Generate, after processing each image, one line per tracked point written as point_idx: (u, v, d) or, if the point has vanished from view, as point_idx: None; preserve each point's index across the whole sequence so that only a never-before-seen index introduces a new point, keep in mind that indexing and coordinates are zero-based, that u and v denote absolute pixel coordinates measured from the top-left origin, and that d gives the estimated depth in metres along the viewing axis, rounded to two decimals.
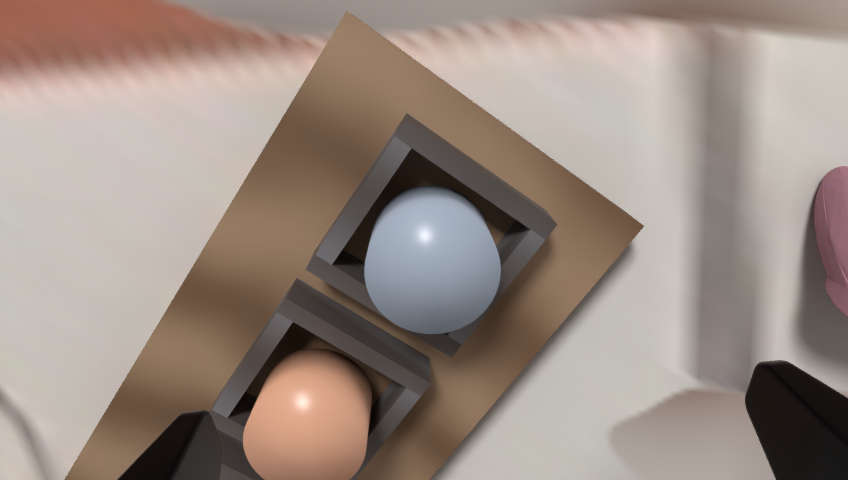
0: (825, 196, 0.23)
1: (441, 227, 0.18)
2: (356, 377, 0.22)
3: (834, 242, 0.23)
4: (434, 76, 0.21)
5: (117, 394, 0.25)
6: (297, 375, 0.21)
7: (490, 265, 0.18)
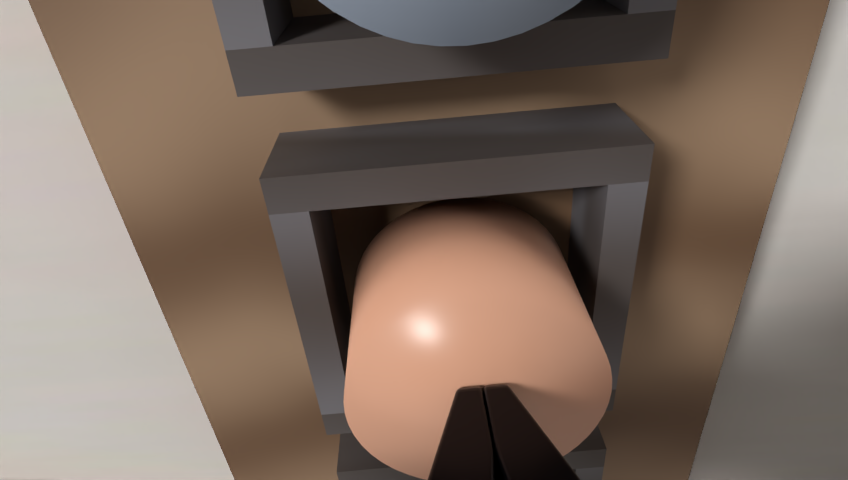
0: None
1: None
2: (494, 223, 0.10)
3: None
4: None
5: (222, 444, 0.16)
6: (376, 293, 0.09)
7: None
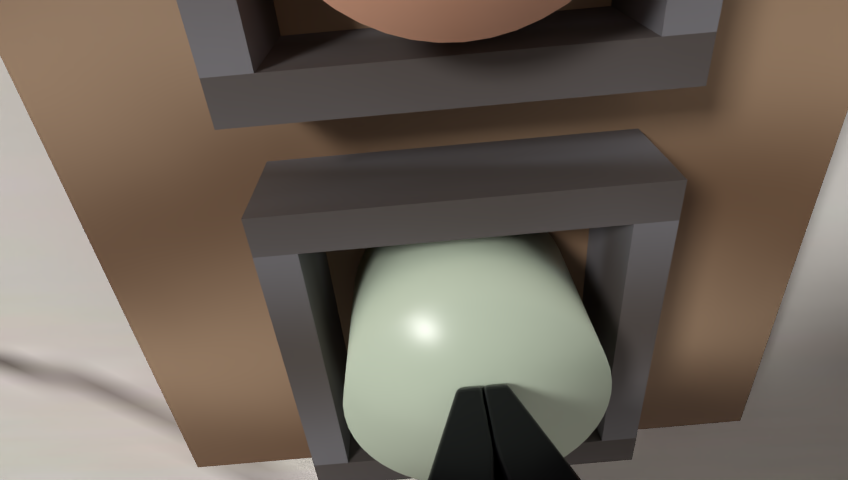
0: None
1: None
2: None
3: None
4: None
5: (89, 233, 0.11)
6: None
7: None
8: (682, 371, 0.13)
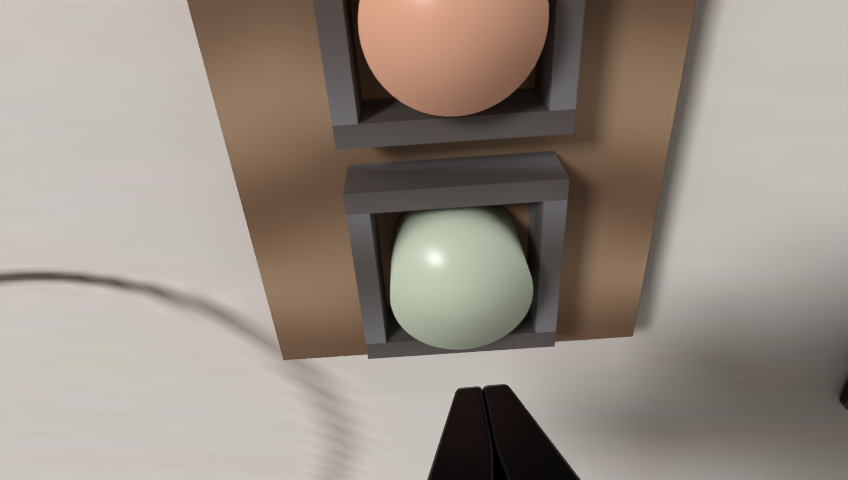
0: None
1: None
2: None
3: None
4: None
5: (243, 203, 0.19)
6: None
7: None
8: (592, 300, 0.21)
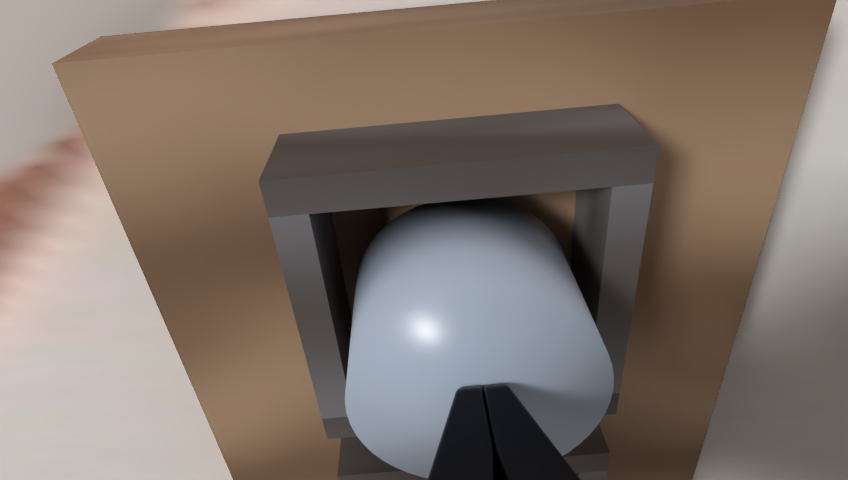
0: None
1: (435, 340, 0.08)
2: None
3: None
4: (264, 46, 0.10)
5: None
6: None
7: (568, 338, 0.09)
8: None
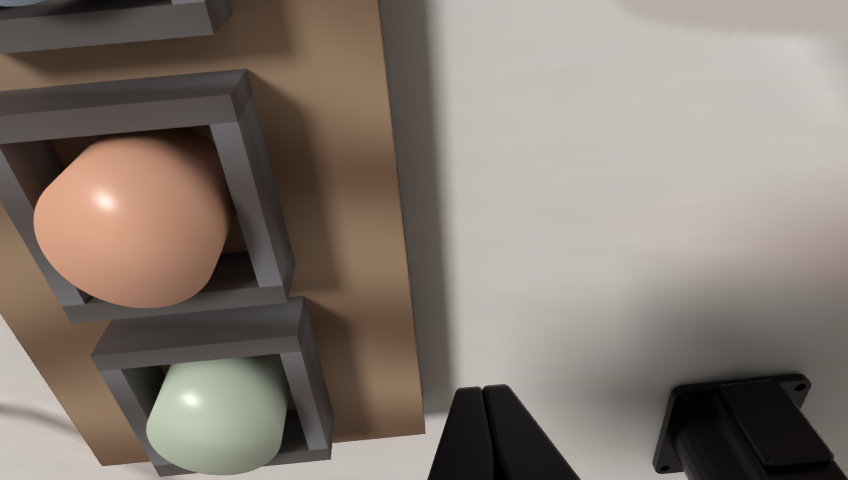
0: None
1: None
2: (151, 132, 0.15)
3: None
4: None
5: (25, 347, 0.20)
6: None
7: None
8: (378, 407, 0.23)
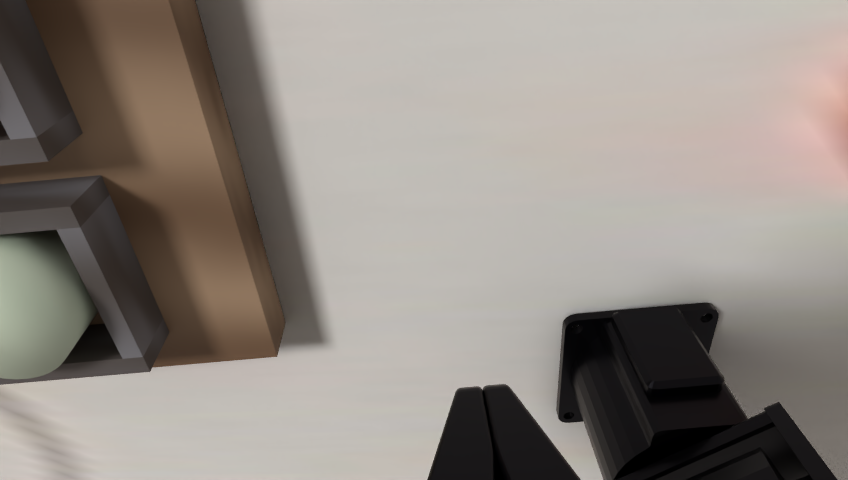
0: None
1: None
2: None
3: None
4: None
5: None
6: None
7: None
8: (216, 321, 0.21)
